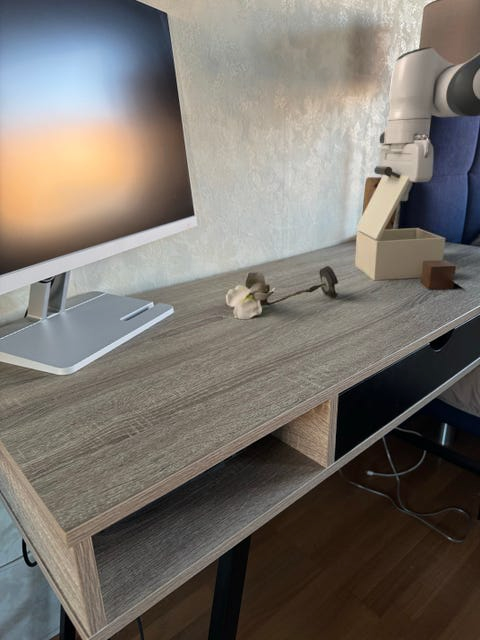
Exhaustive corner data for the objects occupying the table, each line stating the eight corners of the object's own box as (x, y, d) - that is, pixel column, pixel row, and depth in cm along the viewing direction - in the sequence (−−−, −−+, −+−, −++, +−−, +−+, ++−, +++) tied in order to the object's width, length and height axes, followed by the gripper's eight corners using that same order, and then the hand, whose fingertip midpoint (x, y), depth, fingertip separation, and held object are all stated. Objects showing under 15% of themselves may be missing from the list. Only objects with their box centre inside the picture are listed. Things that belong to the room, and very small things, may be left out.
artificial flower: (345, 309, 87) (349, 266, 81) (237, 338, 83) (232, 294, 77) (325, 286, 94) (327, 244, 88) (223, 311, 90) (218, 269, 84)
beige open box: (414, 262, 114) (417, 227, 111) (440, 276, 102) (445, 238, 98) (354, 265, 113) (356, 231, 110) (374, 280, 101) (376, 241, 98)
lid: (391, 165, 105) (374, 157, 104) (417, 168, 92) (397, 158, 91) (358, 230, 110) (341, 222, 109) (378, 240, 97) (359, 232, 96)
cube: (443, 282, 97) (446, 260, 95) (452, 289, 93) (456, 265, 91) (420, 283, 98) (423, 260, 96) (428, 289, 93) (431, 266, 91)
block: (358, 244, 137) (362, 176, 130) (382, 242, 138) (388, 175, 130) (370, 251, 127) (375, 178, 120) (396, 250, 128) (402, 177, 120)
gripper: (445, 132, 87) (436, 205, 92) (402, 135, 106) (396, 195, 111) (414, 133, 87) (407, 206, 92) (376, 136, 106) (372, 196, 111)
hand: (401, 200), depth 101 cm, fingers closed
